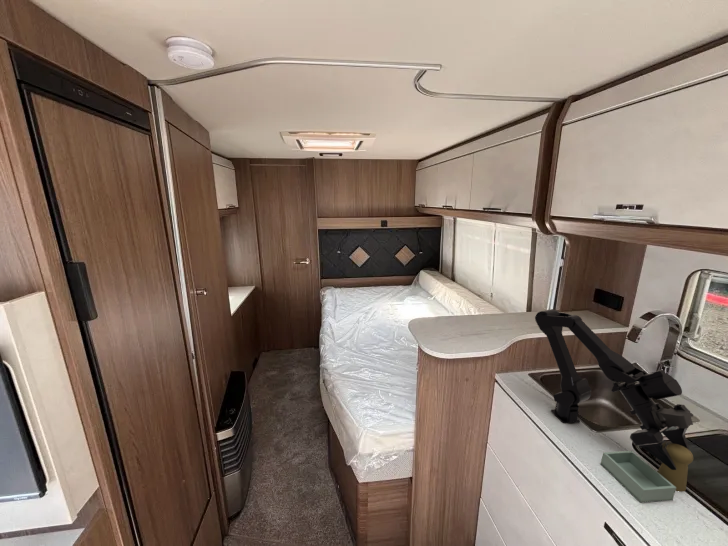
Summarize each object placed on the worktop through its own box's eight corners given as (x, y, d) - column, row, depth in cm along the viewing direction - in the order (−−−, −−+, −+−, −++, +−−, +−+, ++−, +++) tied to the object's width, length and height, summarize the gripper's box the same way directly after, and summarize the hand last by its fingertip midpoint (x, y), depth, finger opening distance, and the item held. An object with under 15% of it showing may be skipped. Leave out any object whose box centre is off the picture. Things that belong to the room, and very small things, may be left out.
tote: (600, 463, 90) (603, 452, 89) (628, 462, 91) (632, 450, 90) (640, 502, 79) (643, 490, 78) (672, 500, 80) (676, 487, 79)
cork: (650, 475, 87) (660, 442, 84) (663, 470, 89) (673, 437, 86) (678, 494, 81) (689, 459, 79) (691, 488, 83) (702, 453, 81)
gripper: (654, 405, 79) (703, 475, 72) (687, 388, 87) (734, 449, 80) (613, 413, 88) (652, 476, 81) (646, 397, 96) (685, 453, 89)
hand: (682, 463), depth 83 cm, fingers open, 9 cm apart
